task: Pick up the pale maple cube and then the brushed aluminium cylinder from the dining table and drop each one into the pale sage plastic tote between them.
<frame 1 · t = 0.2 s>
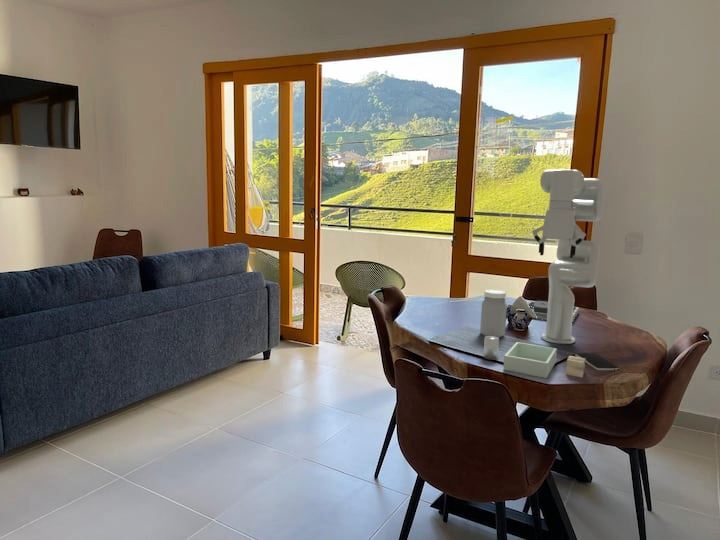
hand: (556, 256, 180), 36 cm above the table, tool pointing down, fingers open, 9 cm apart
streaming box: (549, 316, 247), resting in speaker stand
tote: (530, 366, 176), on the table
maple cube: (574, 373, 170), on the table
smartphone: (596, 364, 182), on the table
speaker stand: (549, 315, 247), on the table
jar: (492, 335, 212), on the table
aluminium cylinder: (490, 357, 184), on the table
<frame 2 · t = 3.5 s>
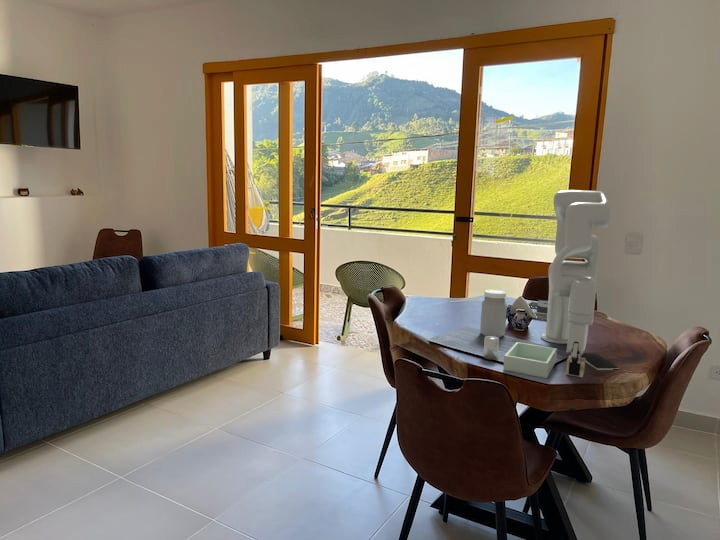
hand: (575, 371, 170), 1 cm above the table, tool pointing down, fingers closed on maple cube, 5 cm apart
streaming box: (552, 315, 248), resting in speaker stand
maple cube: (574, 373, 170), on the table, touching gripper
everything else where it was.
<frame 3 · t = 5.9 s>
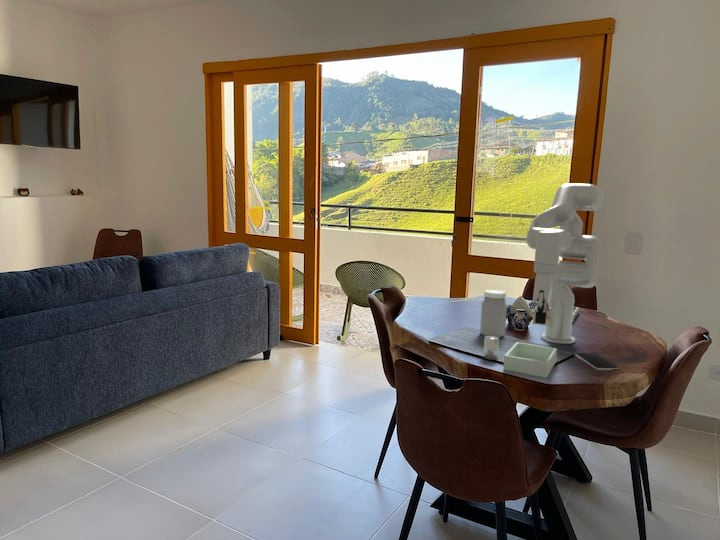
hand: (541, 320, 176), 15 cm above the table, tool pointing down, fingers closed on maple cube, 4 cm apart
maple cube: (541, 322, 176), point 14 cm above the table, touching gripper
when the fingers open (5 cm above the table, at t = 8.4 s): maple cube drops 4 cm, resting on tote.
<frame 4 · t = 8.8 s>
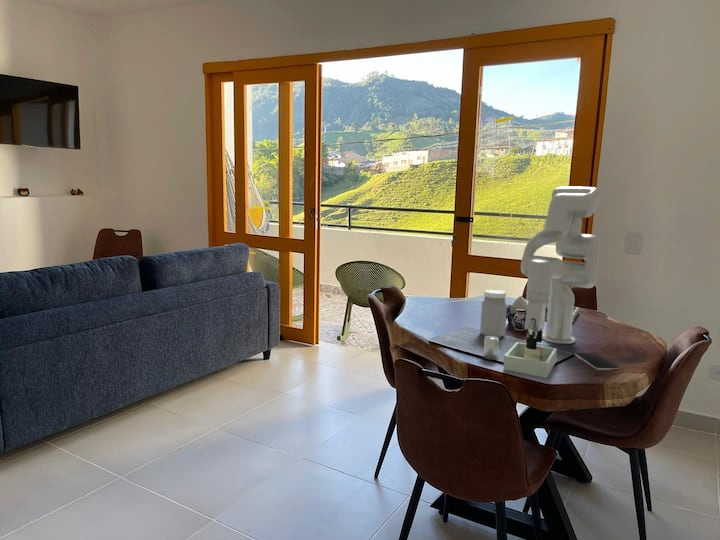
hand: (534, 345, 178), 6 cm above the table, tool pointing down, fingers open, 9 cm apart
maple cube: (532, 361, 179), resting on tote
everything else where it was.
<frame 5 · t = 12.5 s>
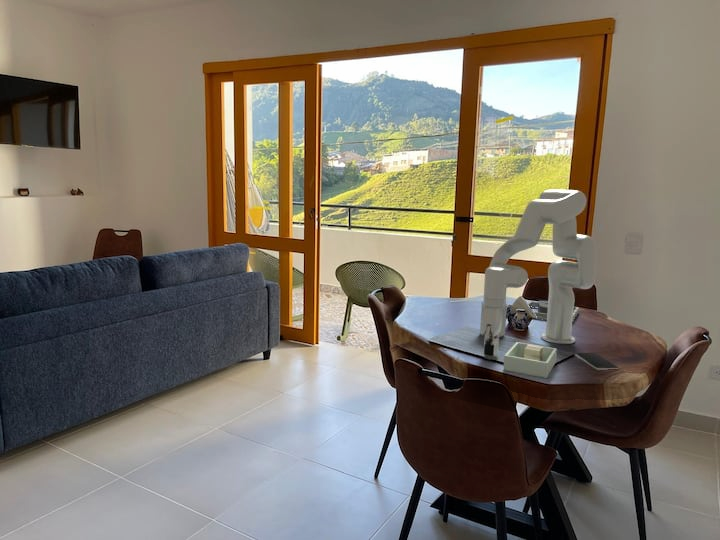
hand: (490, 352, 184), 2 cm above the table, tool pointing down, fingers closed on aluminium cylinder, 5 cm apart
aluminium cylinder: (490, 357, 184), on the table, touching gripper
everything else where it was.
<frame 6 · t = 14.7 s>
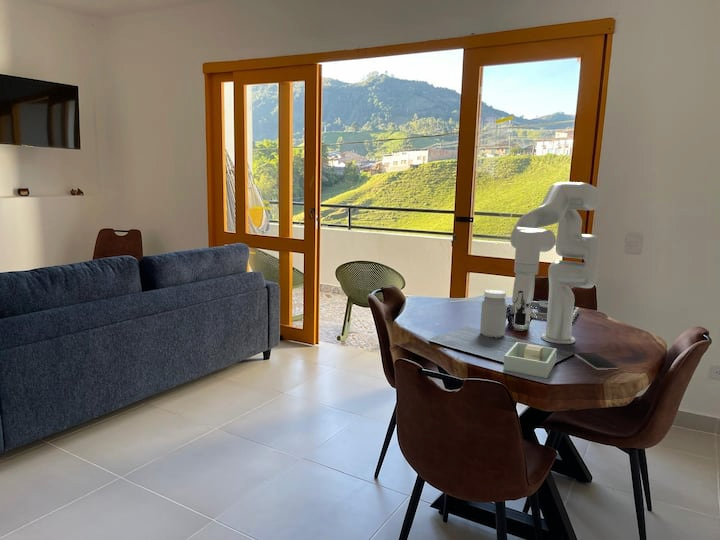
hand: (522, 322, 172), 16 cm above the table, tool pointing down, fingers closed on aluminium cylinder, 5 cm apart
aluminium cylinder: (521, 327, 173), point 14 cm above the table, touching gripper
everything else where it was.
when the fingers open (5 cm above the table, at t = 17.3 s): aluminium cylinder drops 3 cm, resting on tote.
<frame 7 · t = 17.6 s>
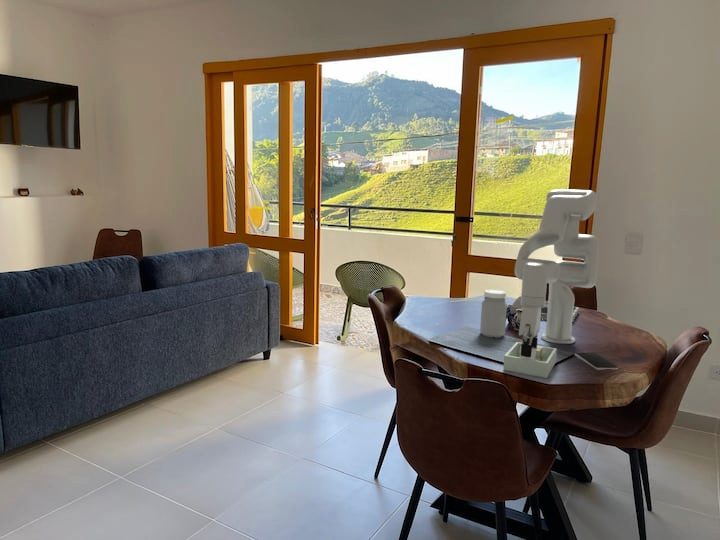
hand: (528, 352, 171), 6 cm above the table, tool pointing down, fingers open, 8 cm apart
aluminium cylinder: (527, 368, 172), point 1 cm above the table, touching tote
everything else where it was.
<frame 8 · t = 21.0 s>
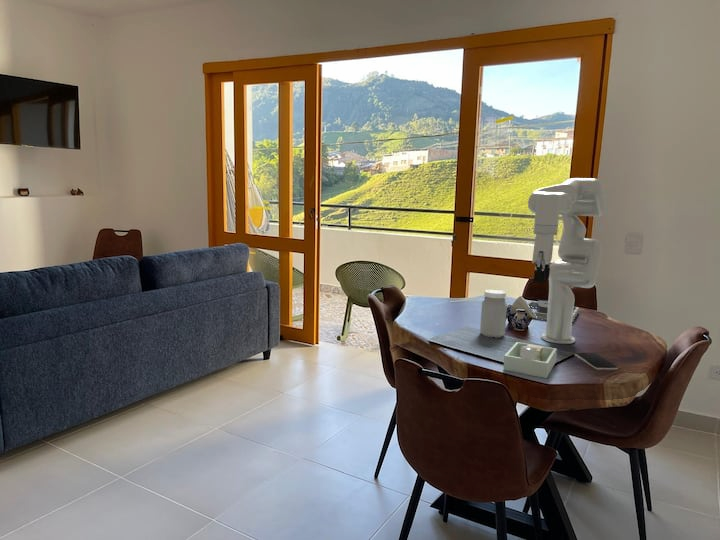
hand: (541, 280, 178), 28 cm above the table, tool pointing down, fingers open, 9 cm apart
at the end: maple cube inside the target area on the tote (3.9 cm from its centre), point 0.4 cm above the tote's base; aluminium cylinder inside the target area on the tote (4.4 cm from its centre), point 0.4 cm above the tote's base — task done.
